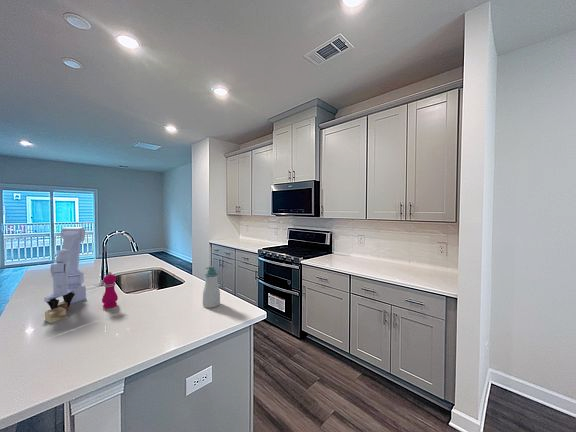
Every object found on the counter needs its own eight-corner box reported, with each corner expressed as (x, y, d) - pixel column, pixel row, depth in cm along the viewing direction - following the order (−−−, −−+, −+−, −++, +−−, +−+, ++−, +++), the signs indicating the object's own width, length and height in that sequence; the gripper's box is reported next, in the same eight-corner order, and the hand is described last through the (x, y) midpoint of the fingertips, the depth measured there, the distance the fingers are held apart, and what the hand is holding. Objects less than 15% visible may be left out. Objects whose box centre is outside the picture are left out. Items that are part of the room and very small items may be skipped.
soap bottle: (198, 306, 142) (199, 267, 141) (211, 300, 150) (211, 263, 149) (211, 309, 137) (211, 269, 136) (223, 303, 146) (223, 266, 145)
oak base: (60, 314, 127) (60, 306, 127) (66, 316, 124) (66, 309, 124) (45, 319, 122) (44, 311, 121) (50, 321, 119) (50, 313, 119)
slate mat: (68, 308, 135) (68, 307, 135) (80, 313, 130) (80, 312, 130) (37, 317, 124) (37, 316, 124) (50, 323, 118) (50, 322, 118)
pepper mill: (109, 310, 134) (109, 274, 134) (98, 308, 136) (98, 273, 135) (120, 305, 141) (120, 270, 141) (110, 303, 143) (110, 269, 142)
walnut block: (63, 309, 133) (63, 301, 133) (67, 310, 132) (67, 302, 131) (54, 312, 130) (54, 303, 130) (58, 313, 128) (57, 305, 128)
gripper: (67, 280, 138) (67, 303, 138) (38, 288, 123) (39, 315, 124) (78, 280, 137) (79, 304, 138) (51, 289, 123) (51, 316, 123)
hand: (61, 309), depth 131 cm, fingers open, 6 cm apart
